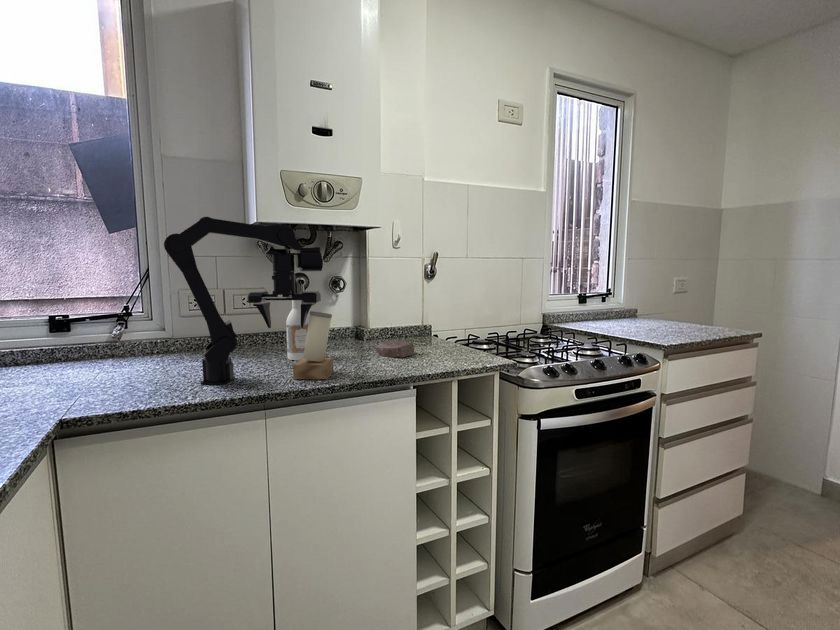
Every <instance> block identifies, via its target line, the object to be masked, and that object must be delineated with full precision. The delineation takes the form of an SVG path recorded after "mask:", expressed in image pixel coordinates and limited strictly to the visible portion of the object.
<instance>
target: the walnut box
mask: <svg viewBox="0 0 840 630" xmlns="http://www.w3.org/2000/svg"><path fill="white" fill-rule="evenodd" d="M292 371H293V373H292V374H293V376H292V377H293V380H294V379H327V380H329V378H330V377H331V376H332V374H333V373H334V372H335V371H334V357H325V360H324V361H322V362H318V361H310V360H306V359H303V358H301V359H300V360H299V361H296V362H295V363H294V364H293V365H292ZM332 372H333V373H332ZM329 376H330V377H329ZM328 377H329V378H328Z"/></svg>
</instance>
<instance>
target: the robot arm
mask: <svg viewBox="0 0 840 630" xmlns="http://www.w3.org/2000/svg"><path fill="white" fill-rule="evenodd" d="M209 234H214V235H220V236H228V237H237V238H243V239H248V240H249V239H250V240H257V241H260V242H263V243H265V244H268V245H270V246H269V247H268V249H267V250H266V251H265V252H264V255H265V256H272V257H271V259H272V275H271V280H272V281H273V290H272V293H269V292H268V291H266V290H265V291H263V290H262V291H256V290H255V291H250V292H249V293H248V294H247V304H252V306H253V307H256V308H257V310H258V312H259V313H260V314H261V317H262V318H263V320H264V322H265V324H266V326H267V328H268V329H271V328H272V320H271V319H272V318H271V310H270V308H271V301H292V300H301V302H303V303H302V304H301V328H304V325H305V321H306V318H308V314H309V313H310V311H311V310H310V309H311V307H312V306H315V305H316V304H317V303H319V302H321V301H322V299H321V297H322V296H321V293H320V292H319V291H316V290H314V291H313V290H312V291H308V290H307V291H302V292H301V286H302V285H301V284H300V283H299V282H298V281H297V277H296V273H295V272H296V271H295V267H296V269H299V271H300V272H322V271H323V267H324V266H323V265H324V259H323V257H322V252H321V247H319V246H317V247H316V246H315V247H303V246H302V245H301V243H300V242H299V241H298V239H297V238H296V234H295V231H294V229H293V228H292V227H291V226H290V225H288V224H264V225H263V224H262V225H259V224H258V225H257V224H252V223H251V224H250V223H245V222H238V221H232V220H225V219H219V218H218V219H217V218H213V217H210V216H203V217H201V218H199V220H198V221H196V222H195V223H194V224H192V225H190V226H189V227H187V228H186V229H184V230H183V231H182V232H180V233H172V234H169V235H168V236H167V237H166V238H165V240H164V242H163V248H164V250H165V251H166V253H167V254H168V256H169V257H170V258H171V260H172V261H173V262H174V263H175V265H176V266H177V269H179V270H180V272H181V273H182V275H183V277H184V279H185V281H186V283H187V286H188V287H189V290H190V291H191V293H192V295H193V297H194V299H195V302H196V304H197V306H198V308H199V310H200V312H201V314H202V316H203V318H204V320H205V322H206V325H207V329H208V332H209V335H210V342H209V343H208V344H207V345H206V346H205V347H204V349H203V354H204V358H203V359H202V361H201V363H202V379H203V380H201V381H200V385H225V384H228V383H229V382H231V381H232V380H234V379H235V378H236V377H235V373H234V371H235V370H234V362H232V357H231V356H230V354H231V353H232V352H233V351H234V350H235V349H236V347H237V345H238V344H237V343H238V340H237V338H239V336H238V334H237V332H236V331H235V330H234V328H233V324H232V322H231V320H230V319H229V320H227V321H225V320H224V319H223V318H222V317H221V315H220V313H219V311H218V309H217V306H216V305H215V303H214V300H213V298H212V296H211V294H210V292H209V289H208V287H207V285H206V283H205V281H204V279H203V277H202V275H201V274H200V271H199V268H198V266H197V262H196V258H195V254H194V251H193V247H192V246H194V245H195V244H197V243H198V242H199V241H201V240H202V239H204V238H205V237H206V236H208V235H209ZM273 246H275V247H277V248H274V247H273ZM278 247H279V248H278ZM286 249H287V250H288V251H290V252H287V250H286ZM291 251H295V252H293V253H292V252H291Z"/></svg>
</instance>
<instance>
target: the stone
mask: <svg viewBox="0 0 840 630" xmlns="http://www.w3.org/2000/svg"><path fill="white" fill-rule="evenodd" d="M375 350H376V353H377V354H378V355H379V356H380V357H381V356H382V357H385V358H391V357H393V358H394V357H395V358H399V359H400V358H402V359H403V358H406V357H408V356H409V357H411V356H413V355H414V353H415V347H414V342H413V341H412V342H411V341H405V340H401V339H395V340H390V339H389V340H386V341H384V342H380V343H379V344H378V345H377V346H375Z"/></svg>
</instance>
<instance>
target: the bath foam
mask: <svg viewBox="0 0 840 630" xmlns="http://www.w3.org/2000/svg"><path fill="white" fill-rule="evenodd" d="M302 302H303V301H302V300H291V307H292V308H291V310H290V312H289V314H288V316H287V318H286V323H285V325H286V329H285V330H286V352H287V353H286V354H287V359H288V360H289V361H292V360H294V362H295V361H296V362H297V361H299V360H300V359H301V358H303V355H304V349H305V343H306V336H307V330H308V324H309V318H308V317H307V318H306V321H305V325H304V328H301V304H303V303H302Z"/></svg>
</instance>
